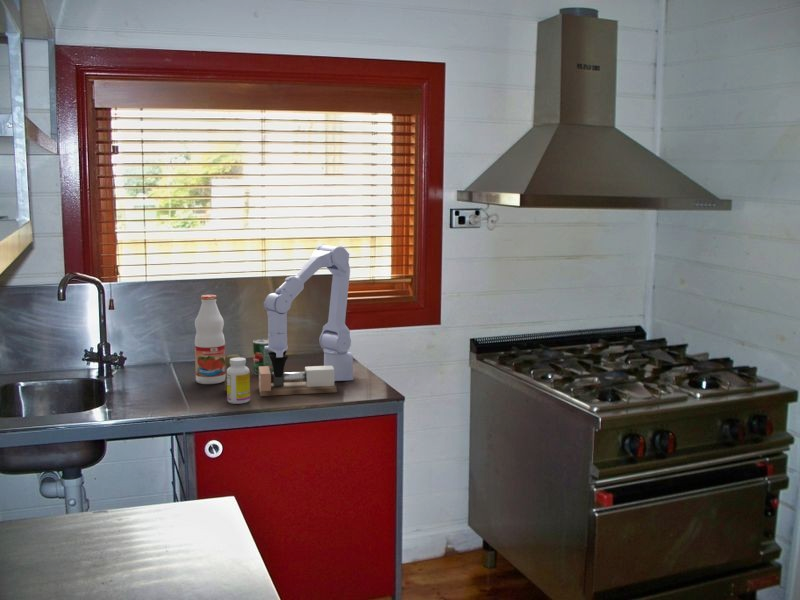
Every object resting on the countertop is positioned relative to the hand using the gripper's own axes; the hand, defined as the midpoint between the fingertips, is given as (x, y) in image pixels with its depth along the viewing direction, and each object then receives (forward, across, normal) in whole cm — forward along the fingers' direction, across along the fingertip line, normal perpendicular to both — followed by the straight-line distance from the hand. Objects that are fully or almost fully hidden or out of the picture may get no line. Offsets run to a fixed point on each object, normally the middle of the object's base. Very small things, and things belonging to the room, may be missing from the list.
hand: (278, 375), depth 256 cm
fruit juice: (+5, -16, -20) cm, 26 cm away
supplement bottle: (+5, +10, -12) cm, 17 cm away
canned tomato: (+5, -24, -2) cm, 25 cm away
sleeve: (+3, 0, +13) cm, 13 cm away
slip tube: (+3, 0, +4) cm, 5 cm away
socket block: (+3, 0, -4) cm, 5 cm away
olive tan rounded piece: (+5, -4, -13) cm, 15 cm away
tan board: (+5, 0, +6) cm, 8 cm away
